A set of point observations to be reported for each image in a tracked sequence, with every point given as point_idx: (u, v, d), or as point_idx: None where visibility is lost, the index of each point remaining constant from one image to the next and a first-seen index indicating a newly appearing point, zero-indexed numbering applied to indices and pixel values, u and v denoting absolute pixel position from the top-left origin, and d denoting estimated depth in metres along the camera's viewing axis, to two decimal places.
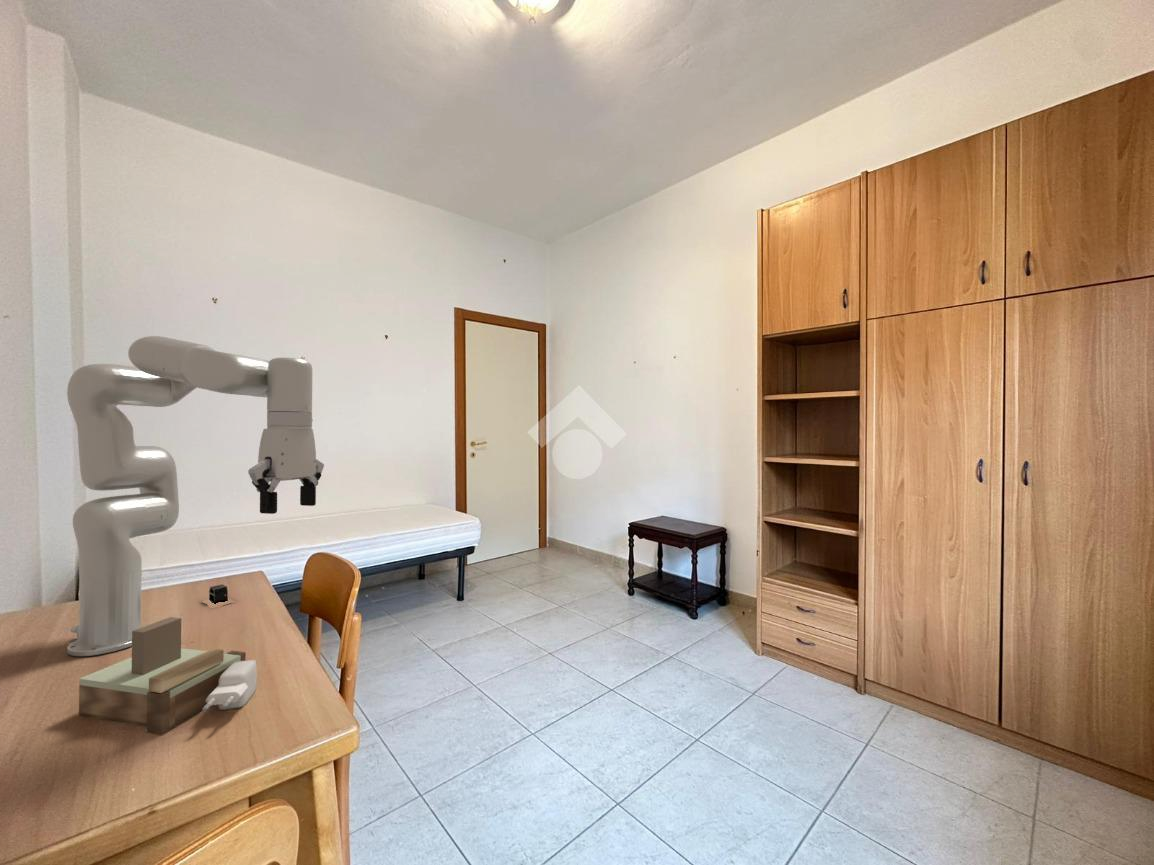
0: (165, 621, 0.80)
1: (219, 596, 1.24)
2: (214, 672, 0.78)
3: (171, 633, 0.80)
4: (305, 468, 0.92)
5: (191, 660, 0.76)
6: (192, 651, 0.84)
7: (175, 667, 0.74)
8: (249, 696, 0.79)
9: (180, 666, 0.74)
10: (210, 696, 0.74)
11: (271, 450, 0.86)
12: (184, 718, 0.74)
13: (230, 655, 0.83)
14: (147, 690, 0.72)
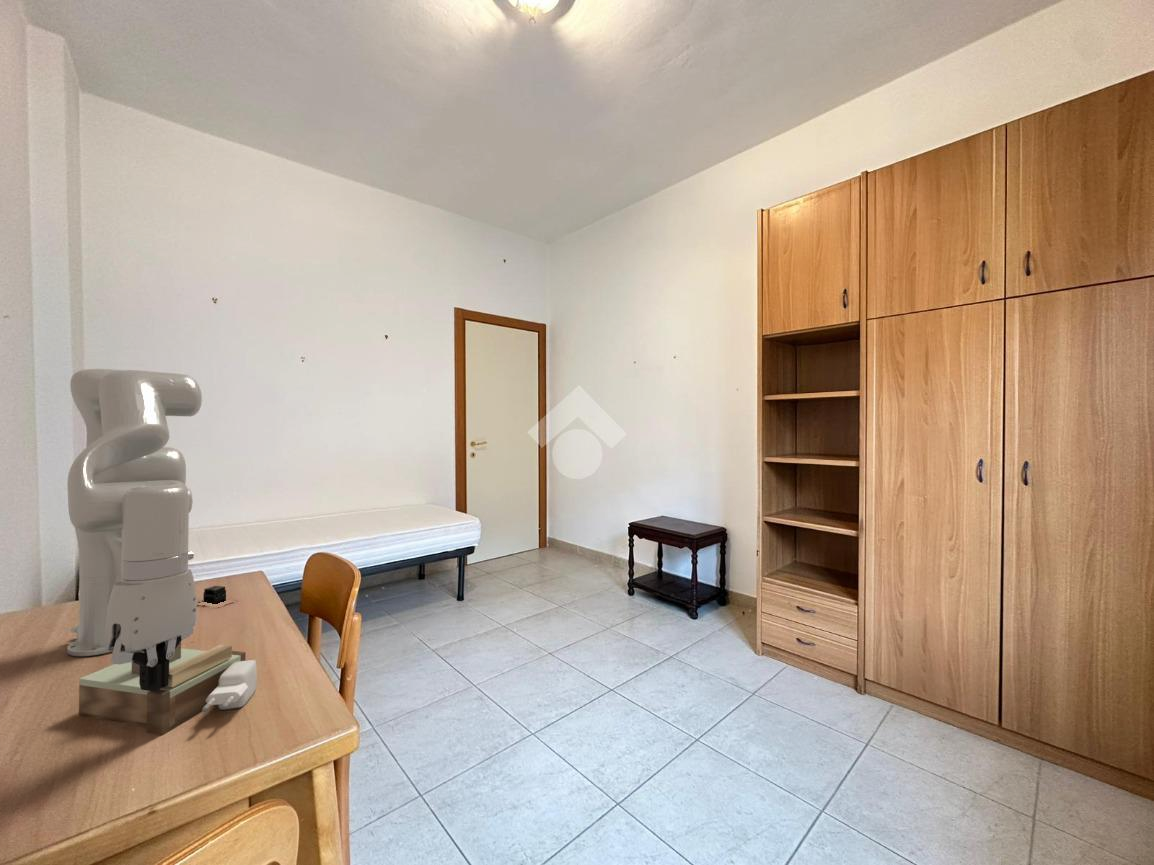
0: None
1: (219, 596, 1.24)
2: (214, 672, 0.78)
3: None
4: (177, 625, 0.72)
5: (200, 656, 0.78)
6: (192, 651, 0.84)
7: (185, 662, 0.76)
8: (249, 696, 0.79)
9: (190, 661, 0.76)
10: (210, 696, 0.74)
11: (120, 615, 0.66)
12: (184, 718, 0.74)
13: None
14: None
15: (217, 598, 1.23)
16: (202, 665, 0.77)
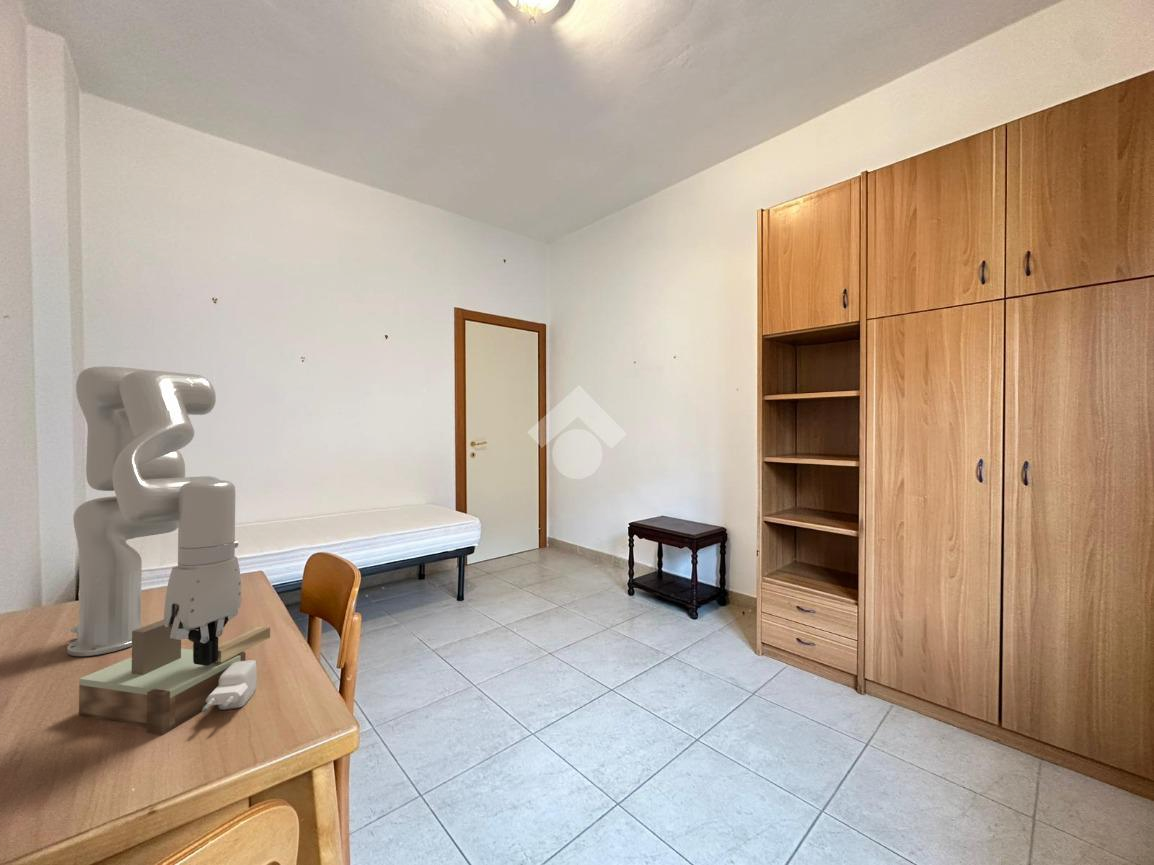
0: None
1: None
2: (214, 672, 0.78)
3: None
4: (225, 606, 0.79)
5: (243, 635, 0.86)
6: (192, 651, 0.84)
7: (231, 641, 0.84)
8: (249, 696, 0.79)
9: (235, 640, 0.84)
10: (210, 696, 0.74)
11: (179, 596, 0.74)
12: (184, 718, 0.74)
13: None
14: (147, 690, 0.72)
15: None
16: (245, 644, 0.84)
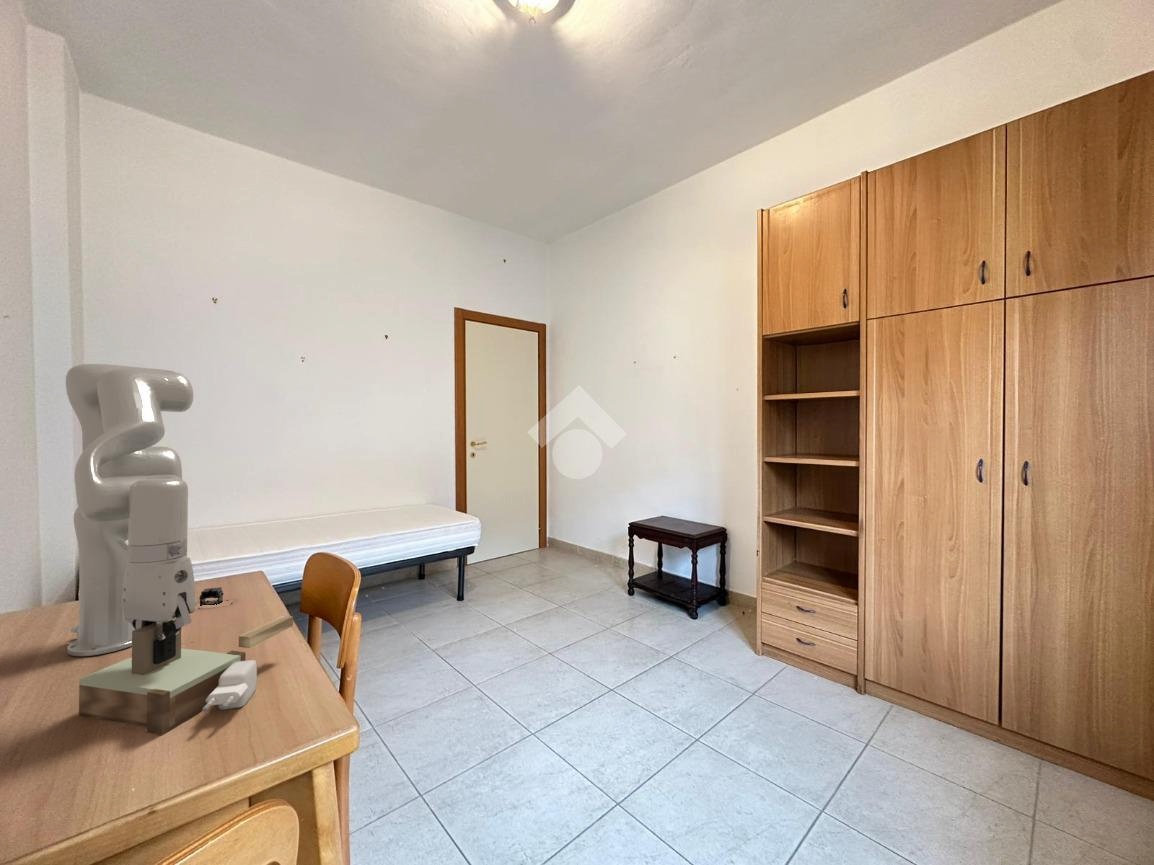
0: None
1: (220, 596, 1.24)
2: (214, 672, 0.78)
3: None
4: (150, 611, 0.77)
5: (269, 623, 0.91)
6: (192, 651, 0.84)
7: (257, 628, 0.89)
8: (249, 696, 0.79)
9: (261, 628, 0.89)
10: (210, 696, 0.74)
11: None
12: (184, 718, 0.74)
13: (230, 655, 0.83)
14: (147, 690, 0.72)
15: (219, 598, 1.23)
16: (271, 631, 0.90)
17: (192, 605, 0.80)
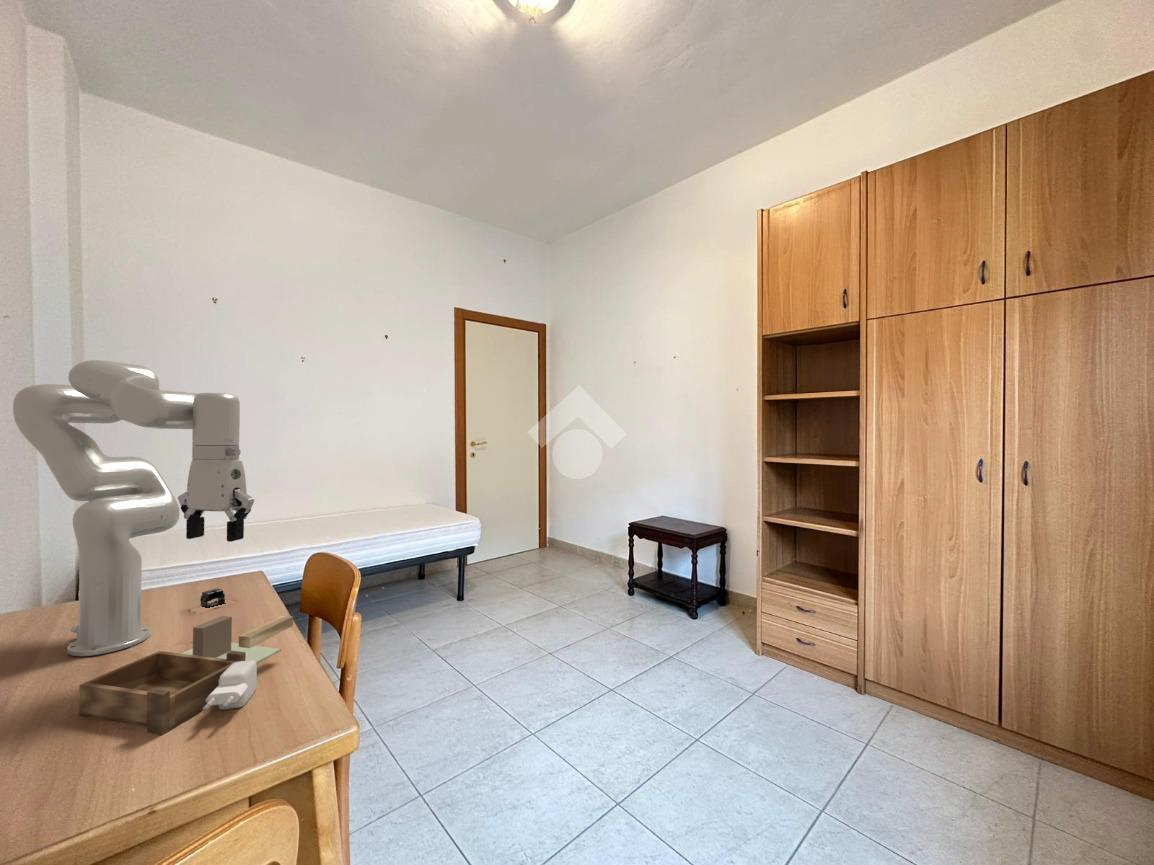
0: (219, 619, 0.95)
1: None
2: None
3: (224, 629, 0.95)
4: (211, 501, 0.91)
5: (269, 623, 0.91)
6: None
7: (257, 628, 0.89)
8: (249, 696, 0.79)
9: (261, 628, 0.89)
10: (210, 696, 0.74)
11: None
12: (184, 718, 0.74)
13: (272, 648, 0.98)
14: None
15: None
16: (271, 631, 0.90)
17: None
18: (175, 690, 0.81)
